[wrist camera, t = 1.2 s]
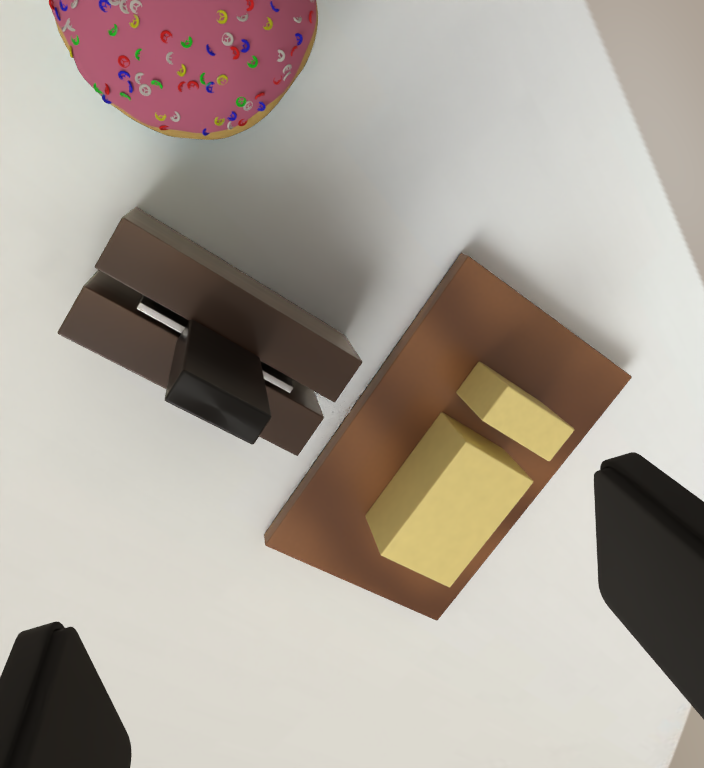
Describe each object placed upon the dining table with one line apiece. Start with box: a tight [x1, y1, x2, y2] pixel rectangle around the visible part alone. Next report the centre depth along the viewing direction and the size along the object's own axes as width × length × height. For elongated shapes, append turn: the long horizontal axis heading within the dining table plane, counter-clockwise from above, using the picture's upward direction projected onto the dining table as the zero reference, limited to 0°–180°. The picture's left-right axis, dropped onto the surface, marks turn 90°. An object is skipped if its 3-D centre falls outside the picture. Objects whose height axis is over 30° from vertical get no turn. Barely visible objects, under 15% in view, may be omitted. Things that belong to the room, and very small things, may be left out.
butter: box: [365, 412, 533, 587], centre depth 32 cm, size 7×4×4 cm, turn 145°
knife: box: [137, 295, 293, 444], centre depth 24 cm, size 1×7×10 cm, turn 56°
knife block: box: [58, 207, 362, 456], centre depth 27 cm, size 5×11×4 cm, turn 55°
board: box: [264, 253, 631, 620], centre depth 33 cm, size 18×12×1 cm, turn 145°
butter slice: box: [456, 362, 574, 461], centre depth 30 cm, size 2×4×4 cm, turn 55°
